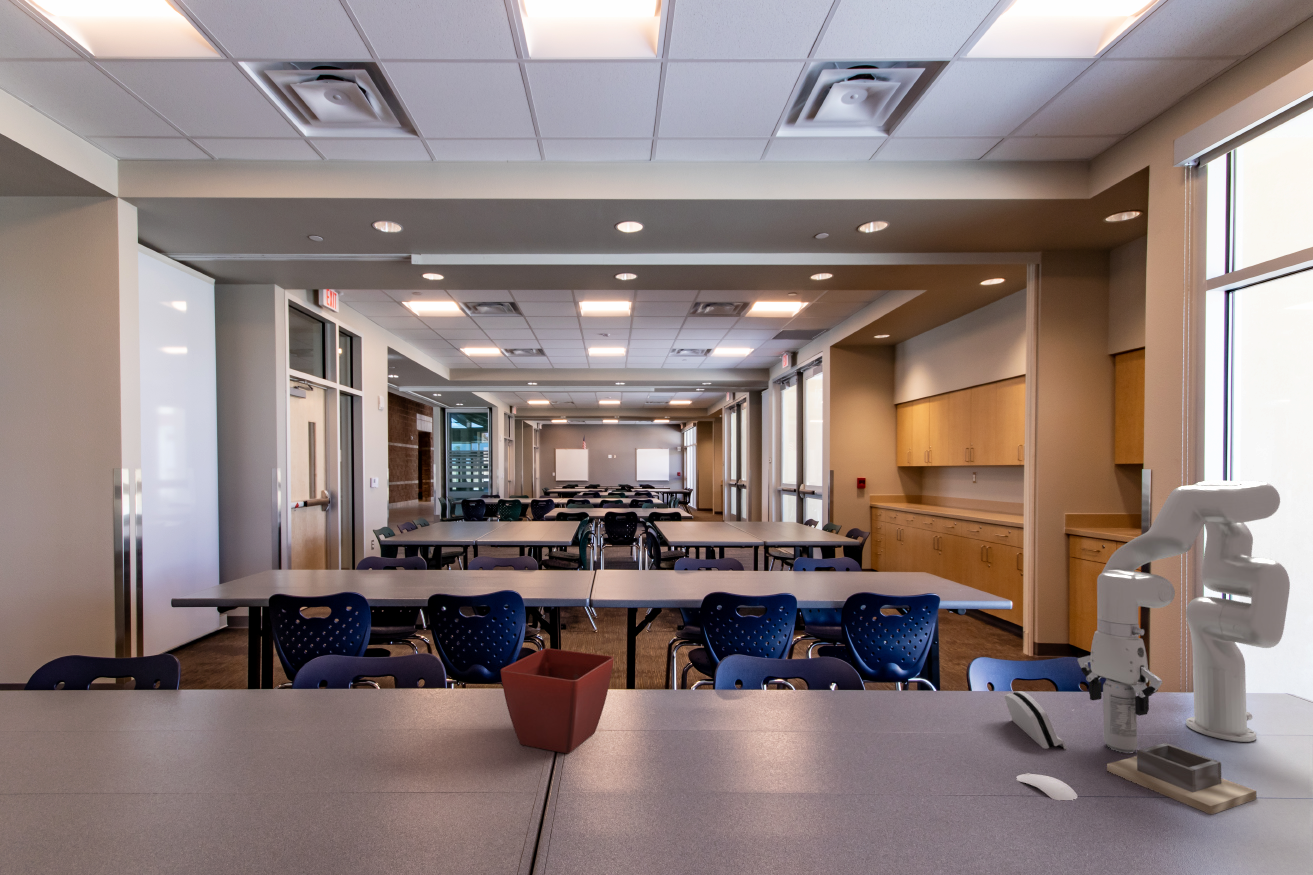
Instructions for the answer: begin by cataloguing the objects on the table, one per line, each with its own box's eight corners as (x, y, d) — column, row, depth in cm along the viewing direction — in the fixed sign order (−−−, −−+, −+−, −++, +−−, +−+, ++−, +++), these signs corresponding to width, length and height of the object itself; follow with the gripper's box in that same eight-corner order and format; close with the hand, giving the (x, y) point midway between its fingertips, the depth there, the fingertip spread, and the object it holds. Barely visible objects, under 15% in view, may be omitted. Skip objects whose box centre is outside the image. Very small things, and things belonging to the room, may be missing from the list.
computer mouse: (1030, 772, 133) (1030, 761, 133) (1087, 800, 121) (1087, 788, 122) (1005, 777, 130) (1005, 765, 130) (1061, 806, 119) (1061, 793, 119)
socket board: (1151, 759, 139) (1150, 733, 139) (1256, 798, 122) (1255, 768, 122) (1107, 771, 133) (1106, 743, 133) (1211, 814, 116) (1210, 783, 116)
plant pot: (495, 747, 139) (498, 668, 140) (543, 717, 157) (545, 646, 158) (573, 764, 132) (575, 680, 133) (614, 730, 150) (615, 656, 151)
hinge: (1067, 750, 143) (1050, 705, 144) (1046, 756, 143) (1029, 711, 144) (1033, 720, 159) (1018, 681, 160) (1014, 726, 160) (999, 687, 161)
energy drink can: (1133, 745, 145) (1132, 678, 146) (1140, 756, 140) (1139, 686, 141) (1101, 740, 148) (1100, 674, 149) (1107, 750, 142) (1105, 681, 143)
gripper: (1170, 637, 139) (1171, 718, 138) (1089, 619, 155) (1089, 692, 154) (1149, 639, 136) (1150, 722, 135) (1068, 621, 152) (1068, 695, 151)
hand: (1117, 706), depth 144 cm, fingers open, 9 cm apart
